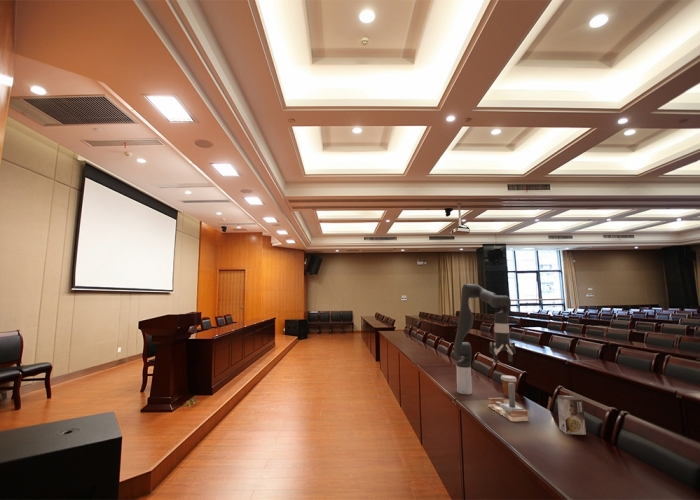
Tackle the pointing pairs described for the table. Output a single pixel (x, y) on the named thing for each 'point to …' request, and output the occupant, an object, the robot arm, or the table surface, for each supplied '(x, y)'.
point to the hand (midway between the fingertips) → (503, 361)
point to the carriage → (511, 399)
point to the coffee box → (571, 414)
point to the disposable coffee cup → (505, 381)
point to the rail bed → (513, 415)
